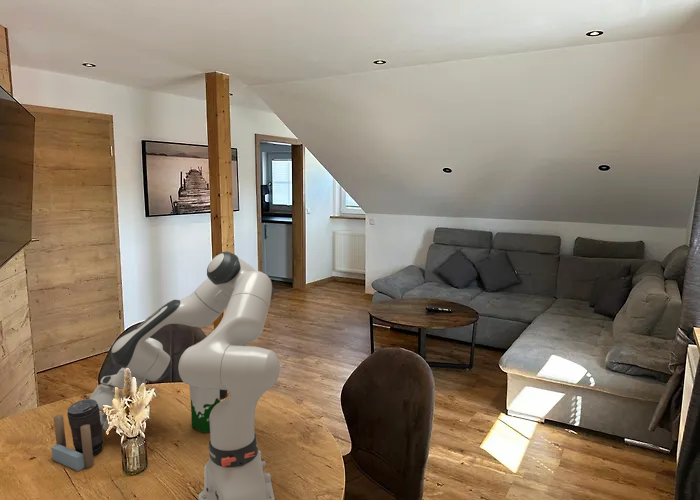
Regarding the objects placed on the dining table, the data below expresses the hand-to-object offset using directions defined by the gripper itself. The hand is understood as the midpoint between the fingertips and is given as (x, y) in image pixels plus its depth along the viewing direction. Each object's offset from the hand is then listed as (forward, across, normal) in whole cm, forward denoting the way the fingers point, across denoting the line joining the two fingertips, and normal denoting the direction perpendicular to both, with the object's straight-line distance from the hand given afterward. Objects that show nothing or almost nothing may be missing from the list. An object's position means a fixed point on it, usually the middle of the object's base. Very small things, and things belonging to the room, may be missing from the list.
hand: (101, 428), depth 150 cm
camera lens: (+7, 0, -1) cm, 7 cm away
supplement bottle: (-25, -8, -34) cm, 43 cm away
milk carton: (-12, -20, -20) cm, 31 cm away
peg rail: (+11, 0, +3) cm, 11 cm away
